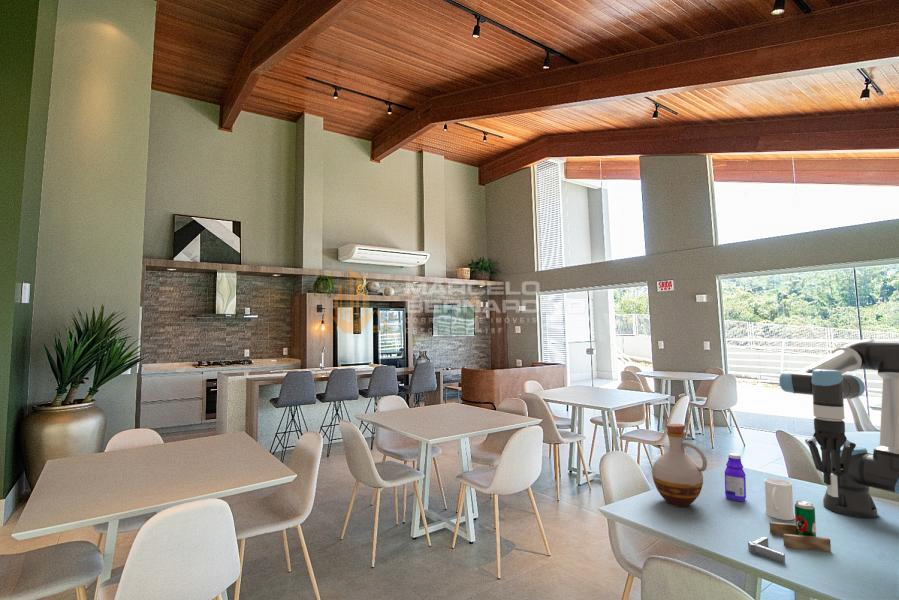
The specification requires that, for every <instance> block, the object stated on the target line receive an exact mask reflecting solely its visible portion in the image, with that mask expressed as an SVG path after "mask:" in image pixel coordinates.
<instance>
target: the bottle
mask: <svg viewBox="0 0 899 600" xmlns="http://www.w3.org/2000/svg"><path fill="white" fill-rule="evenodd" d="M727 457H728V458H727V462H726V464H725V465H726V468H725V470H724V494H725V497H726V498H727V499H729V500H733V501H739V502H744V501H746V499H747V484H746V482H747V481H746V480H747V479H746V476H747V475H746V473H745V471H744V465H743V463H742V460H741V457H742V456H741V454H738V453H733V452H730V453H728V456H727Z"/></svg>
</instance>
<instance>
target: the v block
mask: <svg viewBox="0 0 899 600" xmlns="http://www.w3.org/2000/svg"><path fill="white" fill-rule="evenodd" d="M747 547H748V549H747V550H748V551H749V552H750V554H753V555H754V554H756V555H759V556H761V557H763V558H767V559H769V560H772V561H774V562H777V563H779V564H782V563H783V564H782V565H784V564H786V555H785V553H784V552H781V551H778V550H775V549H772V548H770V547H769V538H768V537H766V536H762V537H760V538H758V539H756V540H753V541H747Z"/></svg>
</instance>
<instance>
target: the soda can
mask: <svg viewBox="0 0 899 600" xmlns="http://www.w3.org/2000/svg"><path fill="white" fill-rule="evenodd" d="M794 517H795V518H794V520H795V521H794V522H795V523H794V524H796V535H803V536H814V537H817V525H816V522H817V521H816V508H815V507H814V504H813V503H812V502H809V501H806V500H805V501H804V500H796V501H795V503H794Z"/></svg>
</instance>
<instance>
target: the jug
mask: <svg viewBox="0 0 899 600" xmlns="http://www.w3.org/2000/svg"><path fill="white" fill-rule="evenodd" d="M665 427H666V429H667V431H666V435H667V437H668V441H669V442H668V443H669V444H668V445H669V448H668V450H666V451H665V452H664V453H663V454H662V455H661V456H659V457H658V458H657V459H656V460H654V462H653V464H652V467H651V475H652V480H653V483H654V486H655V488H656V490H657V492H658V493H659V495H660V496H661V498H663V499H664V501H665V502H666V503H667V504H668V505H670V506H673V507H678V508H688V507H690V506H691V505H692V504H693V503H694V502H695V501H696V500H697V498H699V496H700V493H701V491H702V488H703V485H704V475H703V472H704V471H706V470H707V466H708V460H707V457H706V455H705V453H704V452H703V451H702V450H701V449H700V448H699V447H698V446H697V445H695V444H694V443H691V442H684V437H685V436H686V433H685V431H684V430H685V428H686V425H685V424H683V423H682V424H681V423H667V424H665ZM686 447H688V448H691V449H693V450H695V451H696V452H697V453H698V454H699V456H700V457H701V460H702V465H701V467H700V466H699V464H697V463H696V462H695V461H694V459H692V458H691V457H690V456H689V455H688V454H687V452H685V448H686Z"/></svg>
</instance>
